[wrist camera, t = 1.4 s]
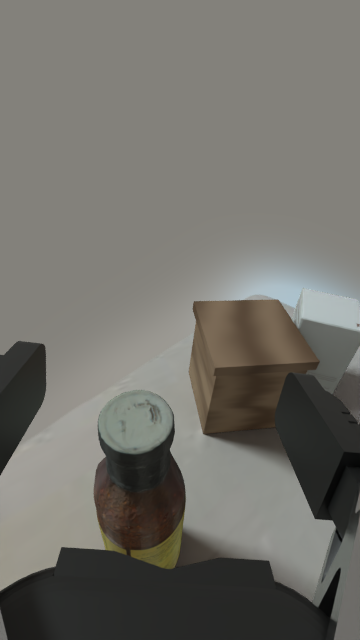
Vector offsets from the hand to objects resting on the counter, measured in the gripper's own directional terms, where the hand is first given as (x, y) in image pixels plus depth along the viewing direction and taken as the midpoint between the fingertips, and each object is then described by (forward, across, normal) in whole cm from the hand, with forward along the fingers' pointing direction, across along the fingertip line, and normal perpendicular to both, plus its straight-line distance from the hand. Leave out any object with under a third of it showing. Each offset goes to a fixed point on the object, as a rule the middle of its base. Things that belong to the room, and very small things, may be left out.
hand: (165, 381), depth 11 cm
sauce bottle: (+10, -1, +25) cm, 27 cm away
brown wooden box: (+27, -11, +19) cm, 35 cm away
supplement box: (+31, -22, +17) cm, 42 cm away
